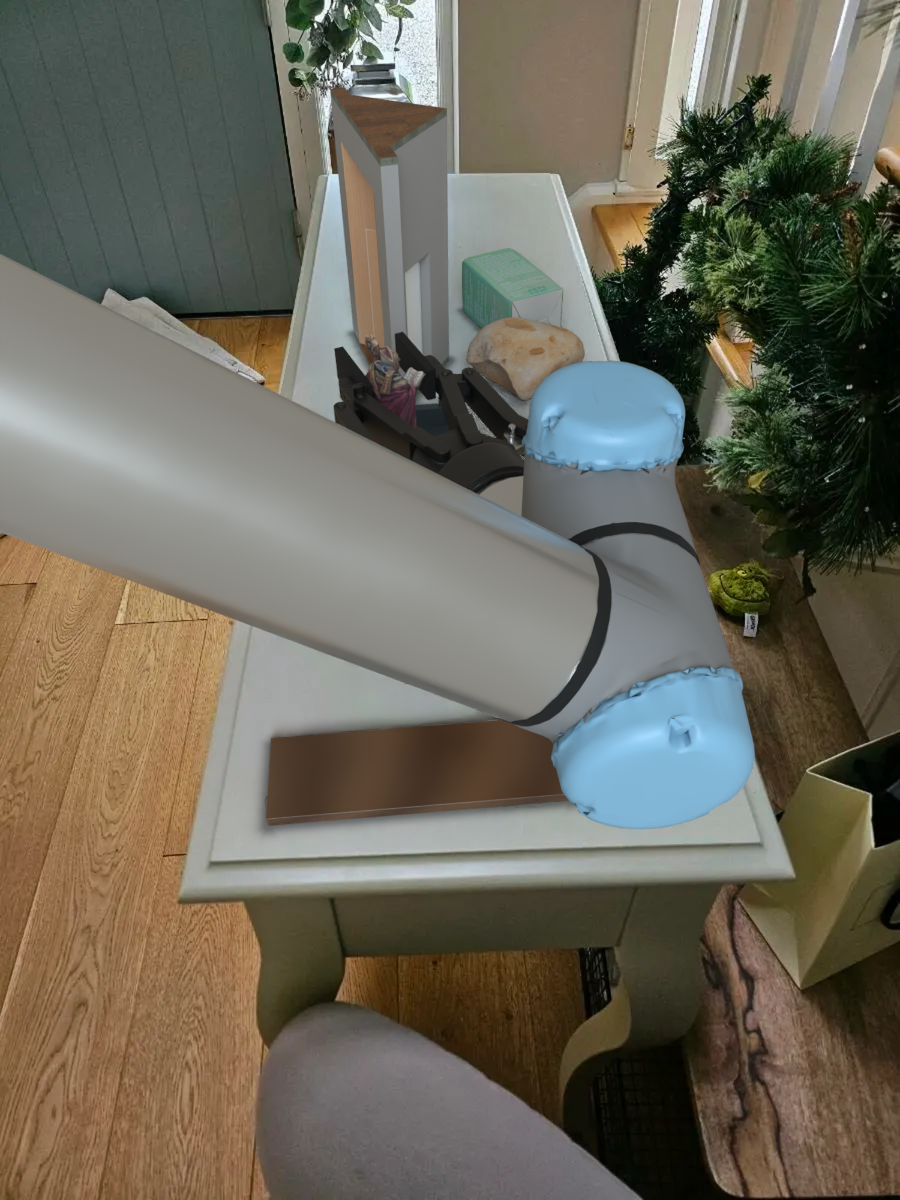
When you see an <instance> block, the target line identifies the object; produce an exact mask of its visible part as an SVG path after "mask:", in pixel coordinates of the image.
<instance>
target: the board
mask: <svg viewBox="0 0 900 1200" xmlns="http://www.w3.org/2000/svg"><path fill="white" fill-rule="evenodd" d="M552 750H553V743H552V742H551V740H550V739H548V738H547V737H544V736H542V735H539V734H537V733H533V732H530V731H528V730H525V729H522V728H520V727H518V726H516V725H514V724H512V723H509V722H506V721H503V720H502V719H497V720H496V719H495V720H482V721H470V722H469V721H468V722H457V723H443V724H433V725H432V724H431V725H418V726H406V727H405V726H404V727H393V728H392V727H391V728H380V729H379V728H378V729H367V730H354V731H339V732H327V733H315V734H314V733H313V734H303V735H301V734H300V735H289V736H288V735H287V736H277V737H275V736H274V737H271V738H270V748H269V765H268V780H267V797H266V811H265V820H266V821H265V822H266V824H267V827H270V826H271V827H272V826H285V825H296V824H307V823H308V824H309V823H319V822H331V821H332V822H333V821H343V820H357V819H368V818H380V817H392V816H404V815H415V814H416V815H417V814H427V813H428V814H429V813H441V812H451V811H462V810H463V811H464V810H476V809H477V810H478V809H487V808H500V807H513V806H525V805H535V804H537V805H538V804H547V803H561V802H570V801H569V800H568V799H567V798H566V796H565V795H564V794H563V792H562V789H561V786H560V782H559V778H558V774H557V770H556V768H555V767H554V766H553V761H552V760H551V755H552Z"/></svg>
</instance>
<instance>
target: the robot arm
mask: <svg viewBox="0 0 900 1200" xmlns="http://www.w3.org/2000/svg"><path fill="white" fill-rule="evenodd" d="M395 348H396V353H397V354H398V356H399V358H400V359H401V360H400V361H399V365H400V367H401V369H402V370H403V371H404V372H405V373H406V372H407V370H408V369H409V368H413V369H414V370H416V371H422V372H423V373H425V374H426V375H425V376H424V378H423V379H422V381H421V384H420V387H419V391H420V392H419V393H421V394H422V395H423V397H424V398H425V399H426V400H427V401H432V400H434V399H435V400H436V399H437V395H438V403H439V408H440V406H441V408H442V411H443V414H444V417H445V419H446V422H447V425H448V428H449V430H450V431H448V432H446V433H444V434H442V435H433V436H432V435H431V434H429V433H428V432H427V431H425V430H424V429H422V428H421V427H419V426H417V427H415V428H413V427H412V426H411V425H409V424H408V423H407V422H405V421H404V420H403V419H401V418H400V417H399V416H397V415H396V414H395V413H393V412H392V411H390V410H389V409H388V408H386V407H385V406H384V405H382V404H381V403H380V402H378V401H377V400H376V399H374V397H373V385H372V384H371V383H370V381H369V380H368V379H367V377H366V376H365V375H366V374H365V373H364V372H363V370H362V369H361V368H360V366H359V365H358V364H357V363H356V362H355V360H354V359H353V358H352V356H351V355H350V354H349V353H348V351H347V350H346V349H345V347H344V346H338V347H335V348H333V350H334V359H335V360H334V361H335V367H336V376H337V380H338V390H339V398H340V399H341V401H338V402H335V403H334V404H333V407H332V408H333V414H334V421H333V420H331V419H330V418H327V417H325V416H324V415H321V414H320V413H317V412H315V411H314V410H311V409H310V408H307V407H306V406H303V405H301V404H299V403H297V402H295V401H294V400H291V399H289V398H288V397H286V396H284V395H282V394H280V393H277V392H276V391H273V390H272V389H270V388H268V387H266V386H264V385H262V384H261V383H259V382H256V381H254V380H252V379H250V378H248V377H246V376H244V375H243V374H240V373H238V372H237V371H234V370H232V369H230V368H228V367H227V366H224V365H222V364H220V363H219V362H216V361H214V360H212V359H210V358H208V357H206V356H204V355H203V354H200V353H199V352H196V351H195V350H192V349H190V348H189V347H188V346H187V347H186V346H185V345H183V344H180V343H178V342H177V341H175V340H173V339H170V338H169V337H166V336H165V335H162V334H161V333H159V332H157V331H155V330H153V329H151V328H149V327H147V326H145V325H143V324H141V323H139V322H137V321H135V320H133V319H132V318H129V317H127V316H125V315H123V314H121V313H119V312H117V311H115V310H114V309H112V308H109V307H107V306H106V305H103V304H102V303H99V302H97V301H95V300H93V299H91V298H89V297H87V296H86V295H83V294H81V293H79V292H78V291H75V290H73V289H71V288H70V287H67V286H65V285H63V284H62V283H59V282H58V281H55V280H54V279H51V278H49V277H47V276H46V275H43V274H41V273H39V272H37V271H35V270H33V269H32V268H30V267H28V266H25V265H24V264H22V263H20V262H17V261H16V260H14V259H12V258H10V257H8V256H6V255H4V254H2V253H0V533H1V534H3V535H6V536H8V537H12V538H15V539H16V540H20V541H22V542H25V543H28V544H30V545H33V546H36V547H38V548H41V549H44V550H47V551H49V552H52V553H55V554H57V555H60V556H62V557H65V558H68V559H71V560H72V561H76V562H78V563H82V564H84V565H87V566H89V567H92V568H95V569H97V570H100V571H103V572H104V573H105V572H106V573H108V574H111V575H114V576H116V577H118V578H121V579H124V580H127V581H130V582H132V583H135V584H137V585H141V586H143V587H145V588H149V589H151V590H154V591H157V592H159V593H162V594H165V595H168V596H170V597H172V598H175V599H178V600H181V601H183V602H186V603H189V604H191V605H194V606H197V607H199V608H202V609H205V610H208V611H210V612H213V613H216V614H218V615H222V616H223V617H227V618H229V619H231V620H235V621H237V622H241V623H243V624H245V625H248V626H251V627H253V628H256V629H258V630H261V631H263V632H266V633H269V634H272V635H275V636H277V637H280V638H283V639H286V640H288V641H291V642H294V643H297V644H298V645H301V646H305V647H307V648H309V649H312V650H314V651H315V650H316V651H318V652H320V653H323V654H325V655H328V656H331V657H334V658H336V659H339V660H342V661H345V662H347V663H350V664H353V665H356V666H358V667H361V668H363V669H365V670H369V671H371V672H375V673H377V674H379V675H382V676H385V677H387V678H390V679H393V680H396V681H398V682H401V683H404V684H406V685H409V686H411V687H414V688H417V689H420V690H422V691H424V692H427V693H430V694H433V695H435V696H438V697H442V698H444V699H446V700H450V701H452V702H455V703H457V704H460V705H463V706H465V707H468V708H470V709H474V710H476V711H479V712H481V713H484V714H487V715H490V716H492V717H494V718H498V719H499V720H503V721H506V722H509V723H512V724H514V725H516V726H518V727H520V728H522V729H525V730H528V731H530V732H533V733H537V734H539V735H542V736H544V737H547V738H548V739H550V740H551V742H552V743H553V750H552V755H551V760H552V761H553V766H554V767H555V768H556V770H557V774H558V778H559V782H560V786H561V789H562V792H563V794H564V795H565V796H566V798H567V799H568V800H569V801H568V802H570V803H571V804H572V805H573V806H575V807H576V809H577V811H578V813H579V814H580V815H582V816H583V817H585V818H587V819H589V820H591V821H593V822H595V823H598V824H601V825H604V826H607V827H612V828H617V829H628V830H629V829H630V830H652V829H653V830H655V829H663V828H669V827H674V826H677V825H682V824H685V823H689V822H692V821H695V820H698V819H699V818H702V817H705V816H708V815H709V814H710V813H711V811H713V810H714V809H716V808H717V807H720V806H722V805H723V804H726V803H728V802H730V801H731V800H733V798H735V797H736V796H737V794H739V792H740V791H742V789H743V788H744V786H745V785H746V783H747V782H748V781H749V779H750V776H751V774H752V771H753V769H754V765H755V758H756V754H755V743H754V740H753V739H754V738H753V734H752V731H751V727H750V721H749V718H748V713H747V710H746V704H745V700H744V696H743V689H744V684H743V679H742V677H741V675H740V672H738V671H736V670H735V667H734V663H733V661H732V657H731V654H730V652H729V649H728V645H727V643H726V640H725V637H724V633H723V630H722V628H721V625H720V622H719V618H718V615H717V612H716V609H715V607H714V604H713V600H712V598H711V595H710V591H709V588H708V586H707V582H706V579H705V576H704V573H703V571H702V568H701V562H700V559H699V556H698V553H697V550H696V547H695V543H694V541H693V536H692V533H691V530H690V528H689V524H688V521H687V518H686V514H685V510H684V508H683V505H682V502H681V499H680V495H679V493H678V489H677V486H676V466H677V464H678V461H679V459H680V458H681V457H682V454H683V452H684V449H685V445H684V443H683V435H684V428H685V421H686V420H685V419H686V407H685V403H684V399H683V397H682V395H681V394H680V392H679V390H678V389H677V388H676V387H675V386H674V385H673V384H672V383H671V382H670V381H669V380H668V379H667V378H665V377H663V376H662V375H661V374H659V373H658V372H655V371H653V370H651V369H648V368H646V367H644V366H641V365H638V364H635V363H631V362H627V361H619V360H594V361H593V360H583V362H579V363H574V364H571V365H568V366H565V367H562V368H560V369H558V370H556V371H555V372H553V373H552V374H550V375H549V376H547V377H546V378H545V379H544V380H543V381H542V382H541V383H540V384H539V385H538V387H537V388H536V390H535V391H534V393H533V396H532V397H531V398H530V399H531V400H530V403H529V411H528V418H526V417H524V416H523V415H521V414H518V413H517V412H516V410H514V408H513V407H512V406H511V405H510V404H509V403H508V402H507V401H506V400H505V399H504V398H503V397H502V396H501V394H500V393H499V392H497V391H498V390H496V389H495V388H494V387H493V385H491V384H490V383H489V382H488V381H487V380H486V378H485V377H484V375H482V374H481V373H479V372H478V371H477V370H476V369H475V368H474V367H464V368H463V369H462V370H461V373H460V372H459V373H454V371H453V370H451V369H449V368H445V366H444V367H443V366H442V364H441V363H440V362H439V361H438V360H437V359H436V358H435V357H434V356H432V355H427V356H424V355H423V354H422V353H421V352H420V351H419V350H418V348H417V347H416V346H415V345H414V344H413V343H412V342H411V340H410V339H409V338H408V337H407V336H406V335H405V334H404V332H400V333H395ZM468 408H469V409H470V410H471V411H472V412H473V413H474V415H475V416H477V418H478V419H479V420H480V421H481V423H482V424H483V425H484V426H485V427H486V428H487V429H488V430H489V432H490V433H491V434H492V435H493V436H491V435H488V434H485V433H482V432H481V430H480V429H479V428H478V425H477V423H476V420H475V418H474V416H473V413H471V412H470V411H469V409H468ZM372 437H373V438H374V439H375V440H377V441H378V442H379V443H380V444H382V445H383V446H384V447H383V446H381V445H379V444H377V443H376V442H375V441H374V439H373V438H372ZM385 447H386V448H385Z"/></svg>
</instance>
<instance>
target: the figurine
mask: <svg viewBox="0 0 900 1200" xmlns="http://www.w3.org/2000/svg"><path fill="white" fill-rule="evenodd" d="M365 345H366V348H367V349H368V350H369V351H370V353H371V354H372V355H373V356H372V358H373V362H372V363H371V364H370V366H369V365H368V370H367V373H366V374H364V375H365V376H366V377H367V379H368V380H369V381H370V383H371V384H372V385H373V397H374V399H376V400H377V401H378V402H380V403H381V404H382V405H384V406H385V407H386V408H388V409H389V410H390V411H392V412H393V413H395V414H396V415H397V416H399V417H400V418H401V419H403V420H404V421H405V422H407V423H408V424H409V425H411V426H412V427H413V428H415V427H417V426H418V425H417V422H416V405H417V403H416V402H417V401H416V399H417V396H416V394H417V391H418V389H419V387H420V384H421V381H422V379H423V378H424V376H425V375H426V374H425V373H423V372H422V371H416V370H414V369H413V368H409V369H408V370H407V372H406V373H405V375H404V376H403V377H402V376H401V375H400V373H399V371H398V370H399V368H400V365H399V361H400V360H401V359H400V358H399V356H398V354H397V353H396V351H394V350H393V349H391V348H389V347H388V346H385V347H383V348H382V349H380V347H379V343H378V341H377V340H376V339H375V337H373V335H367V334H366V336H365ZM417 395H418V394H417ZM373 439H374V438H373ZM374 441H375V442H376V443H377V444H379V445H381V446H383V445H382V444H380V443H379V442H378V441H377V440H375V439H374ZM383 447H384V446H383ZM385 448H386V447H385Z"/></svg>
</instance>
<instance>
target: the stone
mask: <svg viewBox="0 0 900 1200" xmlns="http://www.w3.org/2000/svg"><path fill="white" fill-rule="evenodd" d="M584 346H585V345H584V344H583V341H582V340H581V338H580V337H579V336H578V335H577V334H575V333H574V332H573V331H572V330H570V329H568V328H566V327H562V326H561V327H558V326H555V325H551V324H548V323H543V322H538V321H533V320H528V319H523V318H514V317H510V318H503V319H499V320H497V321H494V322H492V323H490V324H488V325H486V326H485V327H483V328H482V329H481V328H480V330H479V331H478V332H477V333H476V334H475V336H474V338H473V339H472V340H471V341H470V343H469V346H468V348H467V352H466V363H467V364H469V365H471V367H472V368H474V369H476V370H477V371H478V372H479V373H480V374H481V375H482V376H483V377H486V378H488V379H489V380H491V381H492V382H494V383H497V384H498V385H500V386H501V387H503V388H505V389H507V390H508V391H509V392H511V394H514V395H515V394H516V395H517V397H518V398H519V400H521V401H522V400H523V401H526V400H527V401H528V400H530V399H532V396H533V393H534V391H535V390H536V388H537V387H538V385H539V384H540V383H541V382H542V381H543V380H544V379H545V378H546V377H547V376H549V375H550V374H552V373H553V372H555V371H556V370H558V369H560V368H562V367H565V366H568V365H571V364H574V363H579V362H584V359H585V356H586V355H585V352H586V351H585V347H584Z"/></svg>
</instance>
